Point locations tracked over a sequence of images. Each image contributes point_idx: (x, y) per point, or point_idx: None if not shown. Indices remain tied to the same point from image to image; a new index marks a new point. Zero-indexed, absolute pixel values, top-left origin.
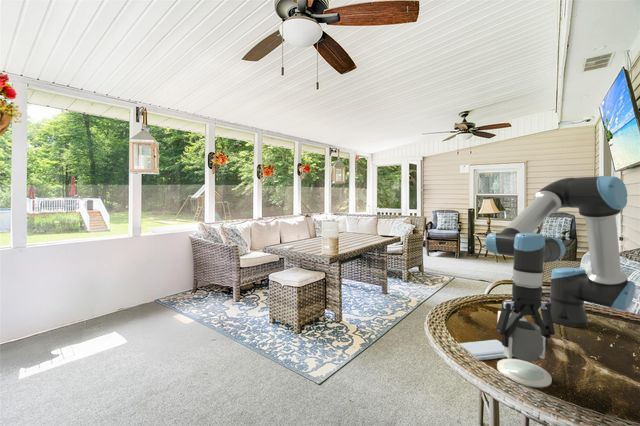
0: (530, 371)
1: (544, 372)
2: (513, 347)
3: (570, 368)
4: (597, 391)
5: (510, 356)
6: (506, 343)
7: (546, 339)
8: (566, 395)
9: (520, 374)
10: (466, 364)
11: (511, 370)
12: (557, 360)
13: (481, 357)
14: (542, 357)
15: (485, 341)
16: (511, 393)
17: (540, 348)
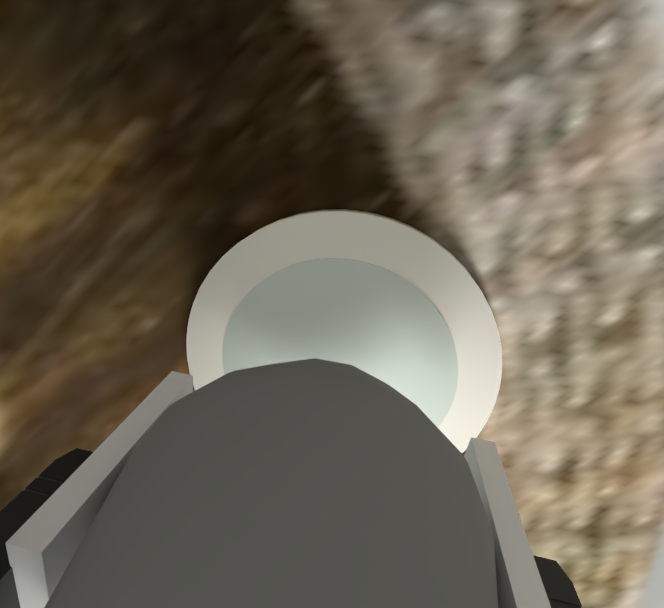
0: (302, 349)
1: (212, 323)
2: (490, 528)
3: (6, 334)
4: (16, 95)
5: (487, 456)
6: (557, 603)
7: (8, 519)
8: (262, 95)
9: (404, 339)
10: (616, 518)
11: (423, 389)
12: (24, 411)
13: None
14: (185, 381)
15: None
16: (645, 196)
17: (229, 407)
